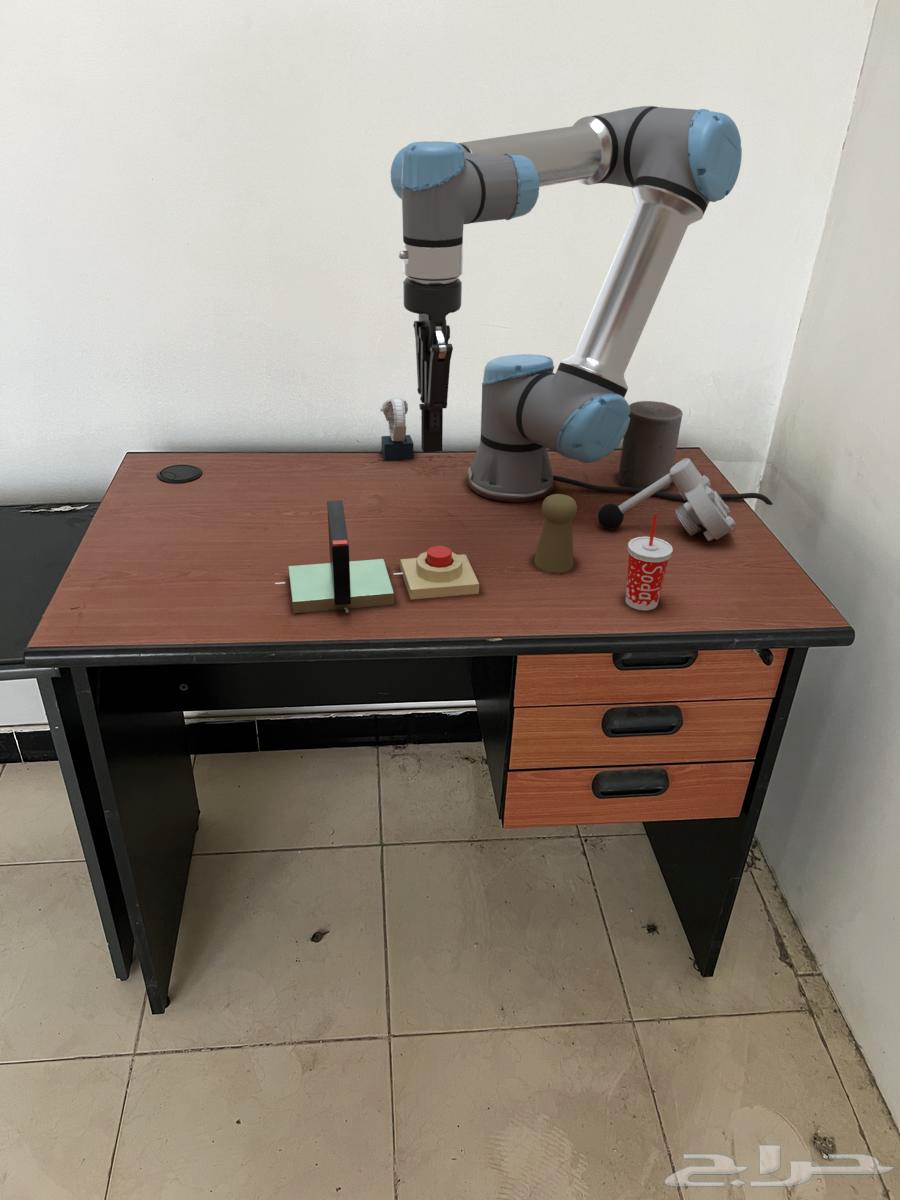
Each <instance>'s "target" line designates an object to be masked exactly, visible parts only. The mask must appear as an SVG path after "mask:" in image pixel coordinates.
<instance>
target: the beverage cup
mask: <svg viewBox="0 0 900 1200" xmlns="http://www.w3.org/2000/svg"><path fill="white" fill-rule="evenodd" d="M652 516H653V517H652V522H651V530H650V534H649V535H650V536H637V537H634V538H632V539H630V540H629V541H628V542H627V553H628V562H627V574H626V585H625V600H624V601H625V604H626V605H627V606H628V607H630V608H632V609H635V610H638V611H652V610H654V609H656V608H657V607H658V606H659V601H660V598H661V597H660V596H661V593H662V589H663V585H664V580H665V576H666V573H667V569H668V565H669V560H670V559H671V557H672V554H673V552H674V550H673V546H672V545H671V544H670V543H669V542H668V541H666V540H664V539H661V538H659V537H655V531H656V527H657V526H656V525H657V519H658V513H657V512H654V513H653V515H652Z"/></svg>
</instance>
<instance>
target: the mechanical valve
mask: <svg viewBox="0 0 900 1200" xmlns="http://www.w3.org/2000/svg"><path fill="white" fill-rule="evenodd" d="M699 471H700V470H698V468H697V467H696V466H695V464H694V463H693V461H692V460H691V458H689V457H688V458H687V457H685V458H682V459H681V460H680V461H678V462H676V463H674V466H673V467H672V468H671V469H670V473H669V474H667V475H666V476H664V477H662V478H661V479H659V480H658V481H656V482H655V483H653V484H652V485H650V486H649V487H647V488H646V489H644V490H642V491H641V492H639V493H635V495H633V496H632V497H629V498H628V499H627V500H626V501H624V502H623V503H621V504H620V505H618V504H615V503H606V504H604V505H603V506H602V507H600V509H599V510H598V513H597V520H598V522H599V524H600V525H601V526H602V527H603V528H605V529H607V530H615V529H616V528H618V527H619V526H621V525H622V524H623V521H624V516H625V515H624V514H625V513H626V512H628V511H630V510H631V509H633V508H634V507H636V506H637V505H639V504H640V503H642V502H644V501H645V500H647V499H648V498H650V497H651V496H653V494H654V493H656V492H657V491H659V490H660V489H662V488H664V487H665V486H667V485H668V484H670V485H671V484H672V483H673V485H675V487H676V488H677V490H678V491H679V495H681V496H682V497H683V499H684V500H686V499H687V500H688V501H685V503H683V504H682V505H680V506H678V507H677V508H676V507H675V508H676V509H675V510H674V512H675V514H676V516H677V518H678V521H679V522H680V523H681V525H682V526H683V528H684V530H685V531H686V532H687V533H688V534H689V535H690V536H691V537H693V536H695V535H696V534H698V533H700V532H702V528H701V526H702V527H703V528H704V529H705V531H703V535H704V537H705V539H706V540H707V541H708V542H710V541H712V540H714V539H715V540H716V541H717V540H719V539H721V538H722V537H724V536H725V535H727V534H729V533H730V532H732V531H733V530H734V528H735V527H736V522H735V520H734V519H733V517H731V515H728V514H730V513H731V511H730V508H729V506H728V505H727V504H726V503H725V502H724V499H721V497H720V496H719V494H720V493H718V491H716V490H714V489H713V488H711V487H710V486H712V484H711V481H710V479H709V477H708V476H706V475H705V474H703V475H702V474H701V473H700V472H699ZM700 525H701V526H700Z"/></svg>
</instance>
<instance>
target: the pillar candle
mask: <svg viewBox="0 0 900 1200" xmlns="http://www.w3.org/2000/svg"><path fill="white" fill-rule="evenodd" d="M629 407H630V414H629V415H628V416H629V417H630V422H629V426H628V429H627V431H626V433H625V435H624V437H623V439H622V444H621V454H620V461H619V471H618V477H617V480H618V482H619V483H620V484H621V485H622V486H623V487H632V488H643V489H646V488H647V487H649V486H650V485H652V484H653V483H655V482H656V481H658V480H659V479H661V478H662V477H664V476H666V475H667V474H669V473H670V469H671V468H672V467H673V466H674V465H675V461H676V454H677V450H678V449H677V447H678V442H679V437H680V429H681V424H682V419H683V415H684V413H683V410H681V408H679V407H677V406H675V405H673V404H670V403H666V402H663V401H653V400H641V401H640V400H639V401H635V402H632V403H630V404H629ZM670 486H671V483H670V484H668V485H667V486H665V487H664V488H662V489H660V490H659V491H661V492H662V491H664V490H666V489H668V488H670Z"/></svg>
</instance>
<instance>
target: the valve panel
mask: <svg viewBox="0 0 900 1200" xmlns="http://www.w3.org/2000/svg"><path fill="white" fill-rule="evenodd" d="M349 562H350V589H351V604H343V605H335V602H334V592H333V582H332V572H331V562H325V563H312V564H311V563H310V564H300V565H288V567H287V568H288V578H289V579H288V580H289V588H290V596H291V598H290V599H291V605H292V614H294V615H297V614H304V613H316V612H328V611H329V612H330V611H339V610H344V611H345V613H346V614H349V609H362V608H373V607H383V606H385V607H386V606H394V605H395V592H394V589H393V585H392V582H391V579H390V576H389V572H388V569H387V565H386V562H385V559H384V558H377V559H364V560H351V561H350V560H349ZM392 575H393V576H403V573H402V572H396V573H395V572H393V574H392ZM274 585H275V586H280V585H286V581H281V582H275V583H274Z"/></svg>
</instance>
